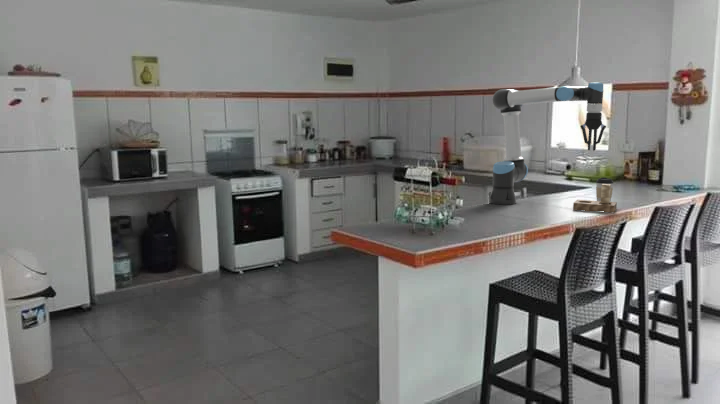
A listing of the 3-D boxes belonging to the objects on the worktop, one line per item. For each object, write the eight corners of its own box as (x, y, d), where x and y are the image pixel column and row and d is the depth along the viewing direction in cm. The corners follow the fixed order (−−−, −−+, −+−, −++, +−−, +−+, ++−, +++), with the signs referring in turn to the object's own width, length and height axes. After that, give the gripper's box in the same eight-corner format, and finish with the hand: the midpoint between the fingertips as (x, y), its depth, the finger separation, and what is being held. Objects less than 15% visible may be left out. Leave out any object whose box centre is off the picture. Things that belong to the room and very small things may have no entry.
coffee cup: (613, 206, 321) (615, 179, 318) (596, 205, 322) (598, 179, 320) (610, 203, 329) (611, 177, 327) (593, 203, 331) (594, 177, 329)
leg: (600, 211, 307) (601, 184, 305) (601, 209, 311) (602, 183, 308) (608, 211, 305) (610, 185, 303) (609, 210, 309) (610, 184, 307)
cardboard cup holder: (573, 210, 310) (573, 202, 310) (576, 206, 321) (577, 199, 320) (613, 213, 300) (614, 205, 300) (616, 209, 311) (616, 202, 310)
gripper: (580, 112, 308) (577, 156, 312) (606, 112, 301) (603, 157, 306) (582, 111, 314) (579, 155, 318) (608, 112, 308) (605, 156, 312)
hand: (591, 156), depth 312 cm, fingers closed
